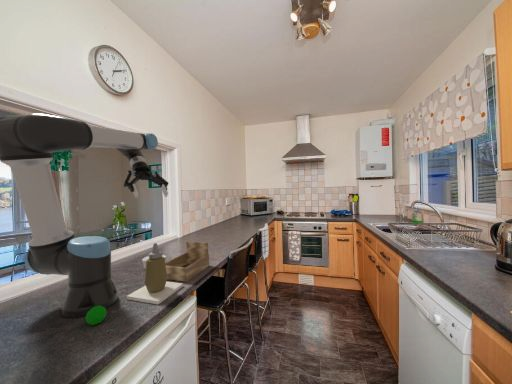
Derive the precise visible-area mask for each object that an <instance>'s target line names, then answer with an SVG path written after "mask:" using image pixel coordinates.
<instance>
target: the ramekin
mask: <svg viewBox="0 0 512 384" xmlns="http://www.w3.org/2000/svg"><path fill="white" fill-rule="evenodd" d="M162 257H164V258H165V261H166V259H167V256H166V255H165V254H162ZM148 259H149V255H147V256H145V257H143V258H142V259H141V262H142V265H143V269H144V270H145V271H146V260H148Z"/></svg>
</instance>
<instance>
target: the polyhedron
mask: <svg viewBox="0 0 512 384" xmlns="http://www.w3.org/2000/svg"><path fill="white" fill-rule="evenodd" d="M107 313H108V311H107V308H105V307H103V306H95V307H93V308H92V309H91V310H89V311H88V313H87V315H86V316H85V321H86V323H87V324H88V325H90V326H95V325H98V323H99V324H101V323H102V321H104V320H105V318H106V316H107Z"/></svg>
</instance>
